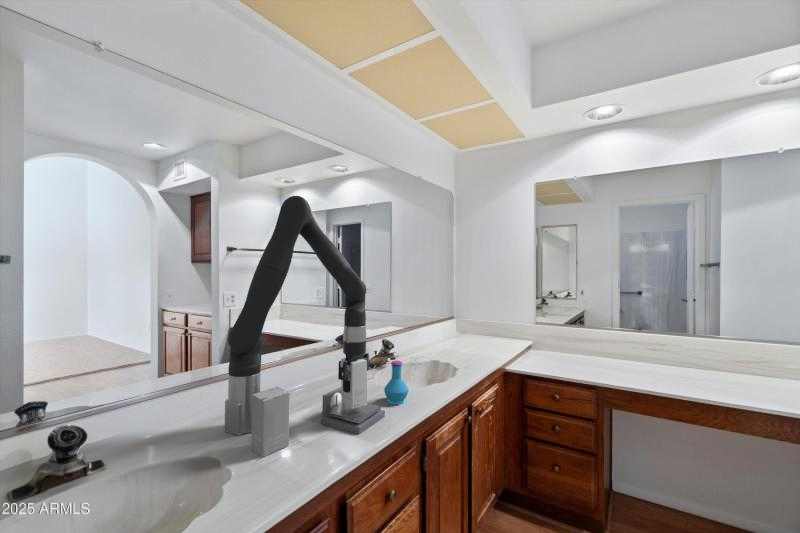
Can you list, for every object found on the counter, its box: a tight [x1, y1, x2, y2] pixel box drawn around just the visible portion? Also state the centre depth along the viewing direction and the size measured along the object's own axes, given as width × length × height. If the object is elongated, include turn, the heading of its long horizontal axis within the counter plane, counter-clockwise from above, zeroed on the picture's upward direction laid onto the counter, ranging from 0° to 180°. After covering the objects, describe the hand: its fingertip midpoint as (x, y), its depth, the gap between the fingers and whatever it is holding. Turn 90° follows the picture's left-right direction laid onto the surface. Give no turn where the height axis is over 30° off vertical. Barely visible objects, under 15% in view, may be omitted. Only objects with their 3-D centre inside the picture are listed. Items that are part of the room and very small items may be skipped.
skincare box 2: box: [340, 357, 368, 409], centre depth 120 cm, size 8×6×15 cm
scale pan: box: [326, 402, 382, 423], centre depth 120 cm, size 13×13×2 cm
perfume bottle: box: [383, 360, 409, 406], centre depth 138 cm, size 9×9×15 cm
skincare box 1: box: [250, 386, 291, 458], centre depth 100 cm, size 8×7×16 cm
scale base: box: [320, 386, 386, 435], centre depth 120 cm, size 15×17×8 cm
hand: (353, 388), depth 120 cm, fingers closed on skincare box 2, 7 cm apart
